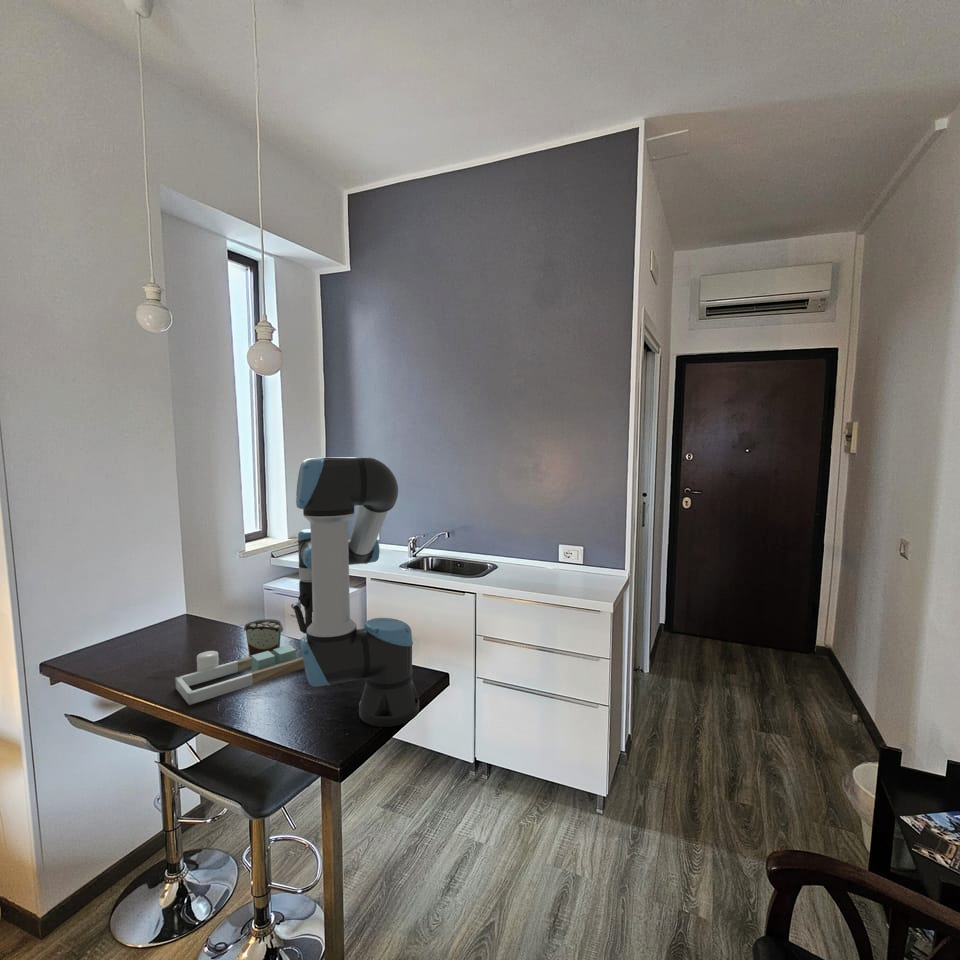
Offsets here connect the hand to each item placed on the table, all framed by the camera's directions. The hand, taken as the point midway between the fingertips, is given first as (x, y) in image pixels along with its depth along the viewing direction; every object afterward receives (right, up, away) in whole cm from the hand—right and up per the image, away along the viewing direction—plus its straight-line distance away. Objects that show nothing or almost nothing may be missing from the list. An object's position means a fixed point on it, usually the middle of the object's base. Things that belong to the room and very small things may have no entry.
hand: (313, 652), depth 168 cm
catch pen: (-21, -3, -20) cm, 29 cm away
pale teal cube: (-11, -2, -11) cm, 16 cm away
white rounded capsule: (-27, -3, -13) cm, 30 cm away
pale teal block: (-7, -2, -6) cm, 9 cm away
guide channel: (-9, -2, -9) cm, 13 cm away
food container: (-16, -1, +3) cm, 16 cm away
